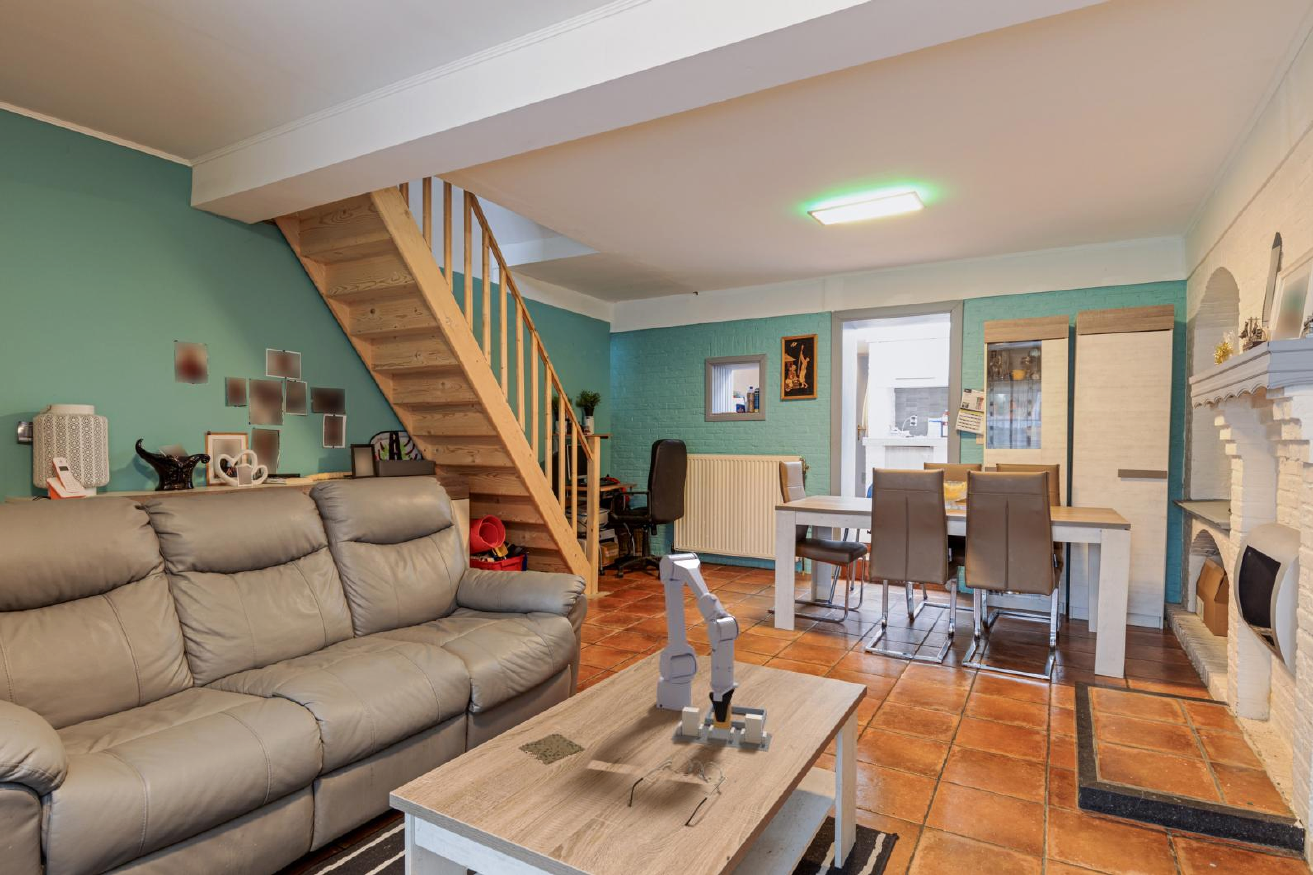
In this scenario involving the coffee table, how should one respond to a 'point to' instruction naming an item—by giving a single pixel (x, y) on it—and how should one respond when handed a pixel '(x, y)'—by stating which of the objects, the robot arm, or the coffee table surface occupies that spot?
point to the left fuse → (690, 721)
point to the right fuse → (753, 728)
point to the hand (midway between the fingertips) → (721, 718)
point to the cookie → (552, 748)
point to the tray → (738, 710)
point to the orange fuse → (727, 722)
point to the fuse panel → (722, 738)
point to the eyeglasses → (684, 775)
